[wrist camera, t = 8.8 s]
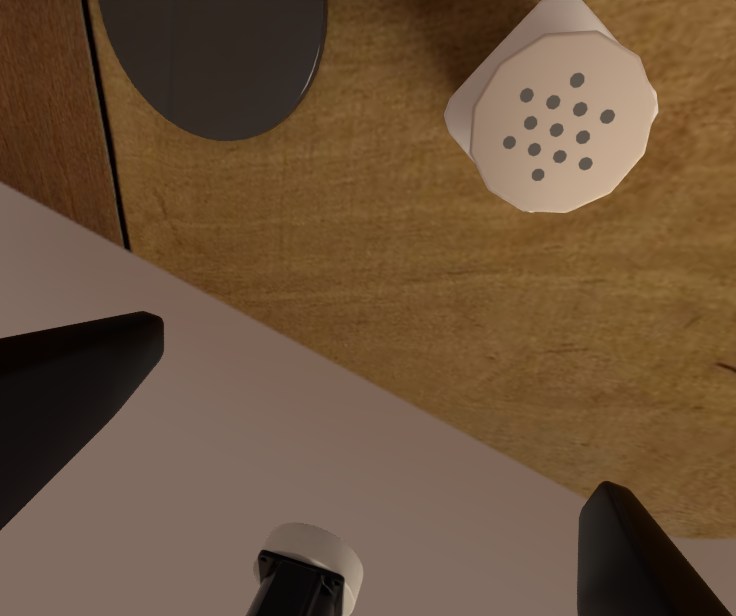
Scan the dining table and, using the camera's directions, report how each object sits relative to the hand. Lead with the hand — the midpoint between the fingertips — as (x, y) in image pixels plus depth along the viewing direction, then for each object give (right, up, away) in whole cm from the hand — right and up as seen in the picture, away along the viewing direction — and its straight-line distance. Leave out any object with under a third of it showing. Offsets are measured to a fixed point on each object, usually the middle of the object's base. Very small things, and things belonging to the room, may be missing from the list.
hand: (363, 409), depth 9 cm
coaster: (-6, +14, +9) cm, 18 cm away
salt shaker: (+6, +10, +8) cm, 14 cm away
